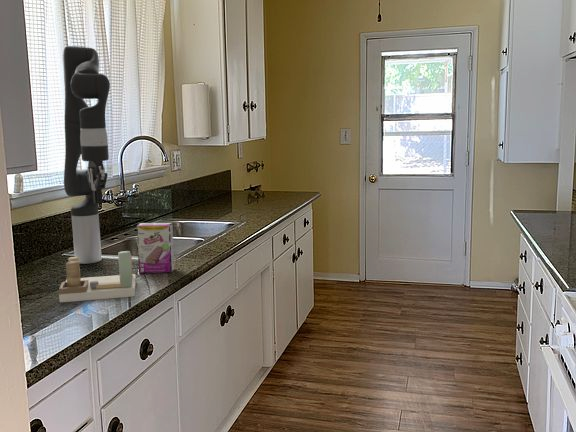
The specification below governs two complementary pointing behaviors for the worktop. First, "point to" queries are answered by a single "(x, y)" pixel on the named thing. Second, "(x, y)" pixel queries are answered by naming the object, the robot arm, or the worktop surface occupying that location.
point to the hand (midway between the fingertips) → (98, 203)
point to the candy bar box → (155, 247)
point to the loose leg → (73, 274)
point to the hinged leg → (123, 271)
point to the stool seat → (99, 293)
